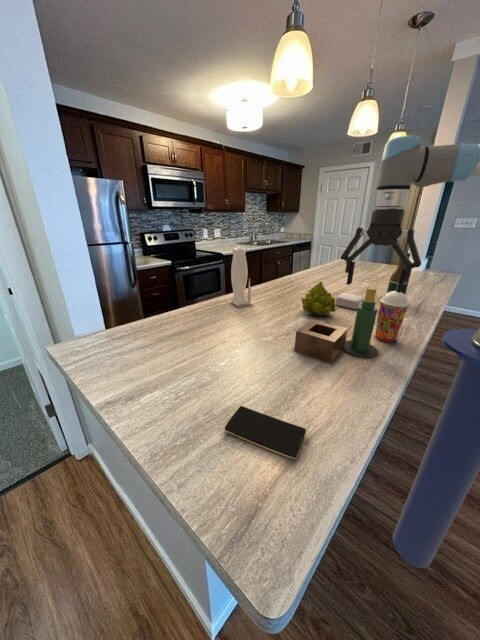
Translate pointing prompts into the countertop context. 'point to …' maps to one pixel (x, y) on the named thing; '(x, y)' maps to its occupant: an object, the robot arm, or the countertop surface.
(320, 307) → the vegetable
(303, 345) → the holder
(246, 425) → the smartphone
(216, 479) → the countertop surface
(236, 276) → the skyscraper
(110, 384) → the countertop surface
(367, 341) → the bottle
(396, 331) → the smoothie
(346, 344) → the coaster
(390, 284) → the beer bottle
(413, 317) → the countertop surface
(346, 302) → the charger
